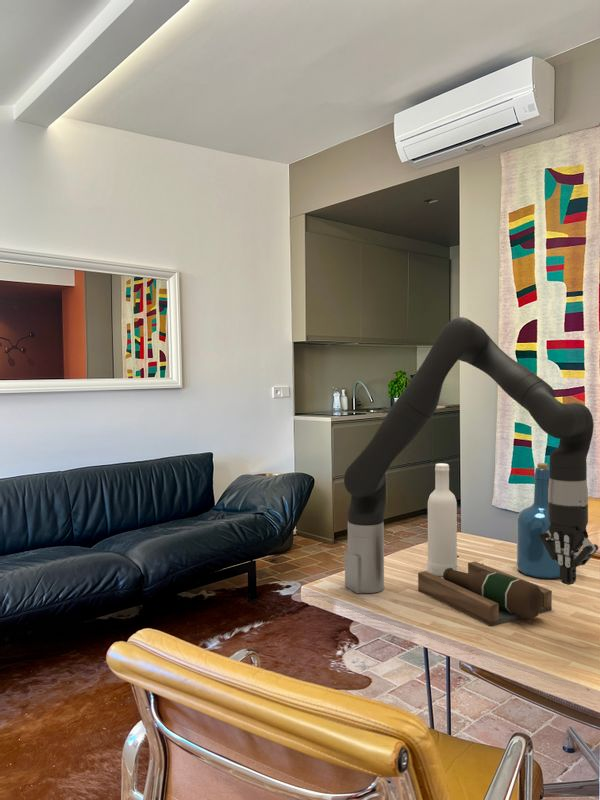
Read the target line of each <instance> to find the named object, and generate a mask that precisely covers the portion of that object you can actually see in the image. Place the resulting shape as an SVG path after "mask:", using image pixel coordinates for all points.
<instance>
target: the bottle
mask: <svg viewBox="0 0 600 800" xmlns="http://www.w3.org/2000/svg"><path fill="white" fill-rule="evenodd" d="M434 467H435V468H434V473H435V480H434V481H435V483H434V484H435V487H434V490H433V491H432V492H431V493H430V495H429V496H428V497H429V498H428V500H427V572H429V573H431V574H434V575H436V576H438V577H443V573H444V571H445V569H448V568H452V569H453V570H456V571H458V569H457V568H458V558H457V556H458V555H457V554H458V551H457V550H458V544H457V542H458V539H457V538H458V526H457V525H458V523H457V522H458V517H457V515H458V513H457V512H458V511H457V510H458V502H457V499H456V496H455V494H454V493H453V492H452V491H451V490H450V465H449V464H448V463H441V462H440V463H435V466H434Z"/></svg>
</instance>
